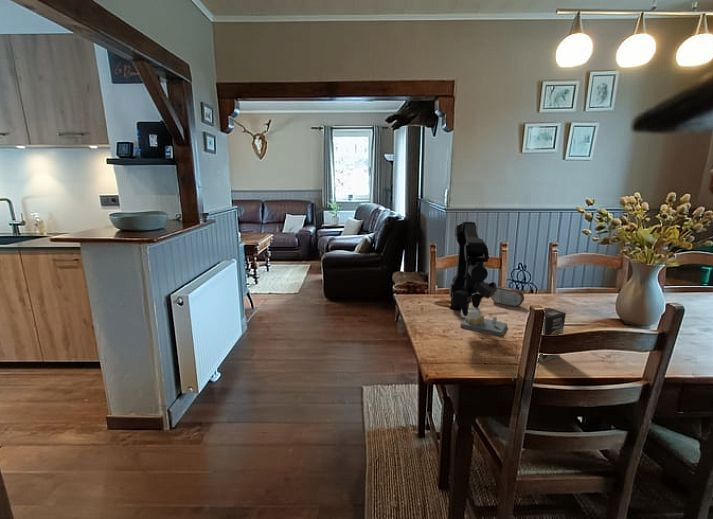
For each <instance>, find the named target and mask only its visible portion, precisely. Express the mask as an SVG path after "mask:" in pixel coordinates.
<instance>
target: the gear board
mask: <svg viewBox="0 0 713 519" xmlns="http://www.w3.org/2000/svg"><path fill="white" fill-rule="evenodd" d="M497 319H498V318H497V316H492V319H487V318H485V314H482V313H480V318H477V320H475V319H470V320H469V319H467V318H464V319H463V321H462V322H461V323H460V328H461V329H467V330H472V331H476V332H481V333H485V334H489V335H494V336H499V337H502V335H503V334H504V332H505V331H506V329H507V327H508V323H506V322H503V321H498V320H497Z"/></svg>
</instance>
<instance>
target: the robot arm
mask: <svg viewBox="0 0 713 519" xmlns="http://www.w3.org/2000/svg"><path fill="white" fill-rule="evenodd" d="M477 230H478V229H477V225H476V222H474V221H464V222H462V223H460V224H458V225H456V226H455V229H454V237H455V240H456V242H457V244H458V252H457V261H456V274H455V275H454V277H453V278H452V280H451V283H450V285H449V289H448V290H449V291H448V292H449V297H450V306H449V309H450V310H456V311H460V312H461V309H462V312H463V314H464V315H465V316H467V313H468V309H469V306H470V304H471V303H472V306H473V307H476V308H477V307H478V308H480V304H481V302H482V300H483V298H486V299H490V298H491V297H492V296H493V294H494V292H496V291H497V290H496V289H497V288H496V287H497V283H496V282H495V281H492V282H490V283H489V282H485V280H486V279H487V278H488V274H489V272H488V269H487V268H486V267H485V266H484V263H488V262H489V258H490V255H489V248H488V245H487V244H486V242H485V240H483V239H482V238H480V237H479V234H478V232H477Z"/></svg>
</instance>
